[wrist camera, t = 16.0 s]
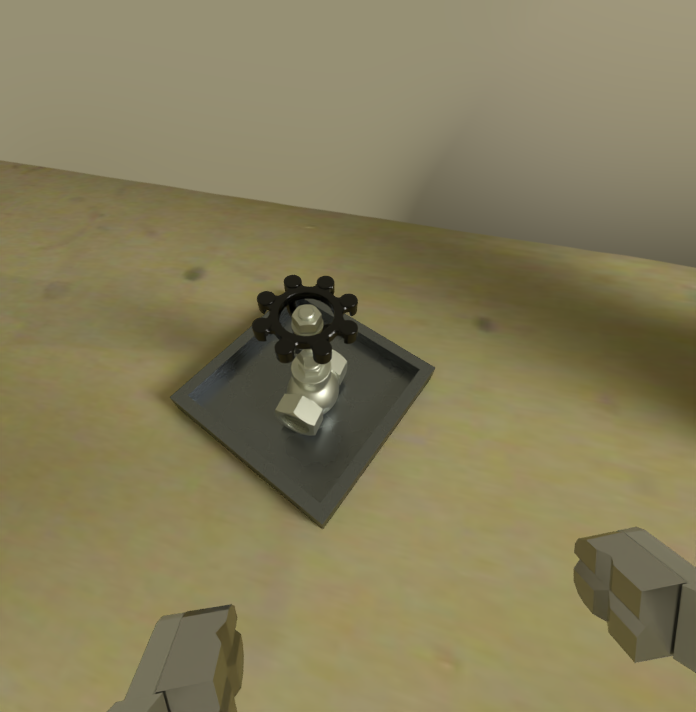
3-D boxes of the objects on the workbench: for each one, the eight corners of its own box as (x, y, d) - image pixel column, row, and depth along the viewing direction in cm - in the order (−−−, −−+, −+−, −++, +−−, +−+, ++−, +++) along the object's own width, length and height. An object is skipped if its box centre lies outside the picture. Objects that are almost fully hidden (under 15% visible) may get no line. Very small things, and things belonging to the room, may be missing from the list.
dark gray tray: (299, 298, 39) (298, 285, 37) (430, 378, 34) (435, 367, 33) (178, 407, 32) (169, 397, 30) (323, 529, 27) (322, 524, 25)
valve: (261, 419, 31) (227, 333, 21) (297, 358, 34) (283, 260, 24) (333, 449, 30) (334, 374, 20) (363, 384, 33) (377, 291, 23)
